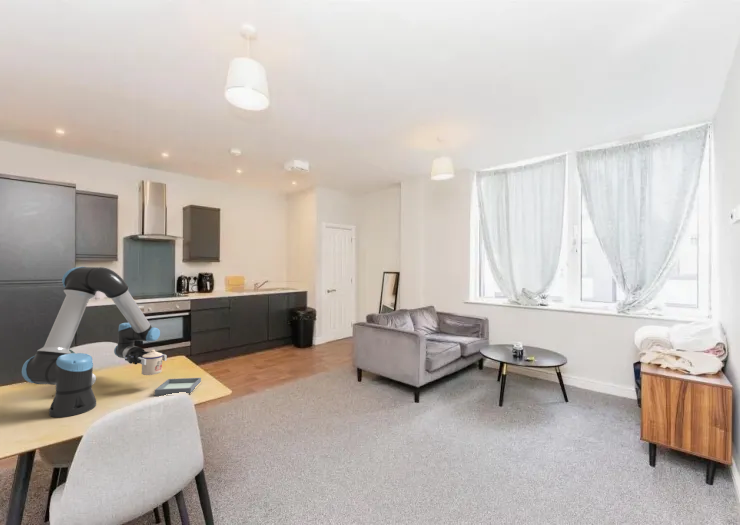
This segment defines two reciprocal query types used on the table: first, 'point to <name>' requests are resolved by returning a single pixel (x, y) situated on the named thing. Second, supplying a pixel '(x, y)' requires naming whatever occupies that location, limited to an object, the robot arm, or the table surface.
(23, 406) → the table surface
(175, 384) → the tray
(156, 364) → the teacup with lid
